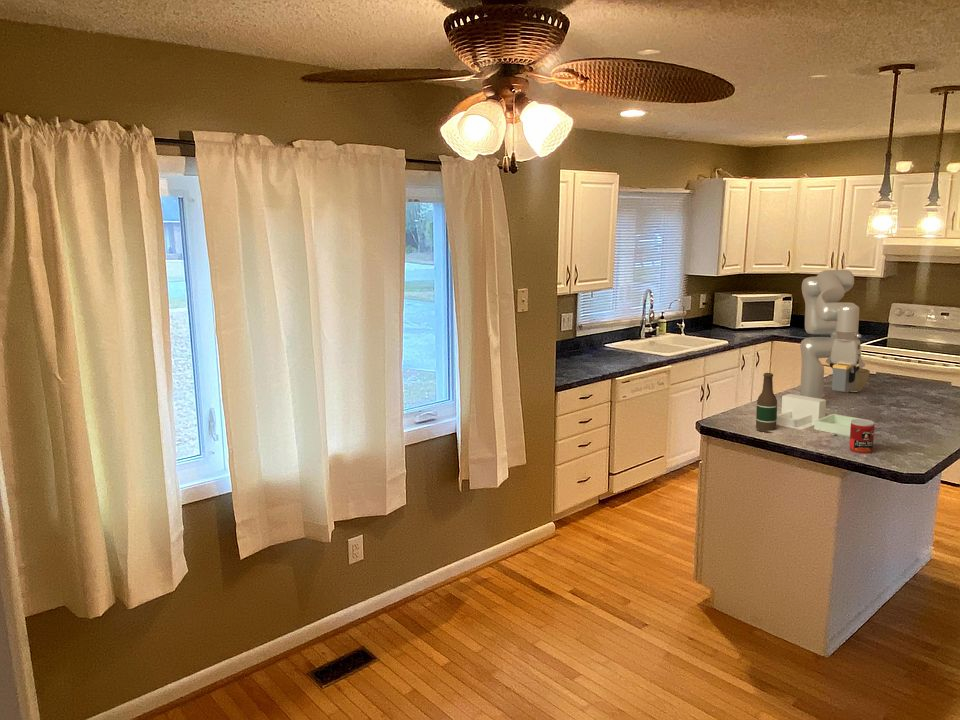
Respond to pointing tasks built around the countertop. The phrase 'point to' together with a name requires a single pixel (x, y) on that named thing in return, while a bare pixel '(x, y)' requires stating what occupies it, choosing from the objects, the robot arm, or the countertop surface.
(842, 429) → the tray
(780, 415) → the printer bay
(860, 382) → the planter bowl
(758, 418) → the beer bottle
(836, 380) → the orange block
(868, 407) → the countertop surface
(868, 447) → the canned food
